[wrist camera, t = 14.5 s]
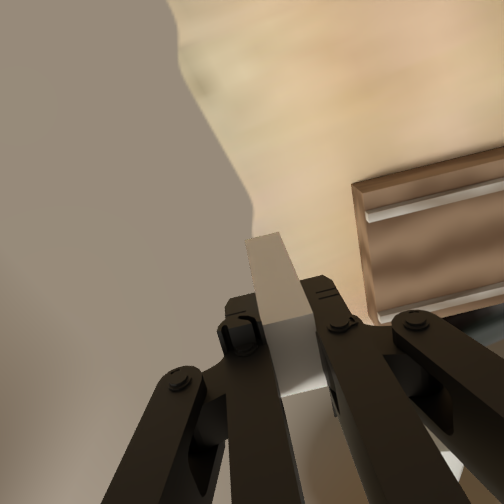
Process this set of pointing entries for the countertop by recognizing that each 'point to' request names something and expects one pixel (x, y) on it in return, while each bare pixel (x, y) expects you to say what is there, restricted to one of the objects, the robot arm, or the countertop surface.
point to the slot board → (433, 237)
